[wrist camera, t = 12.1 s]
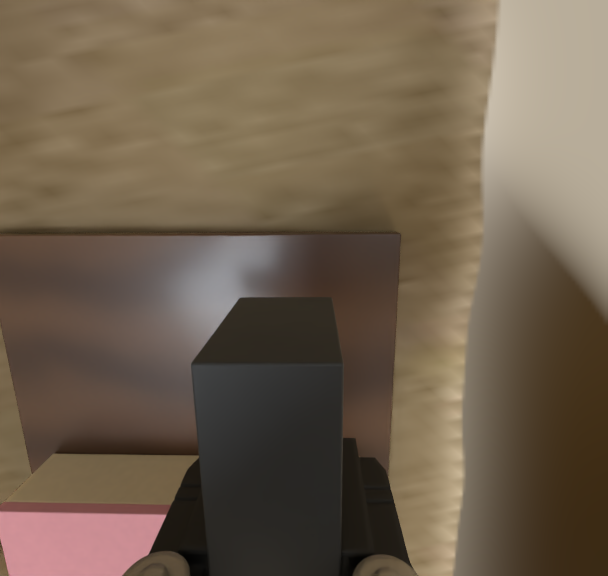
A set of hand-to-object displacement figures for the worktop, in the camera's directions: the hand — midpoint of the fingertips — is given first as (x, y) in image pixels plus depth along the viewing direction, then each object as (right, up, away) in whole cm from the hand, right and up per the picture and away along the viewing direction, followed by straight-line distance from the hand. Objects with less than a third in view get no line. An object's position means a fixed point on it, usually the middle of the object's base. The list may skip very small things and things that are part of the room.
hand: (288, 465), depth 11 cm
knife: (0, -4, +1) cm, 5 cm away
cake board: (-5, -4, +11) cm, 13 cm away
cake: (-9, -8, +11) cm, 16 cm away
